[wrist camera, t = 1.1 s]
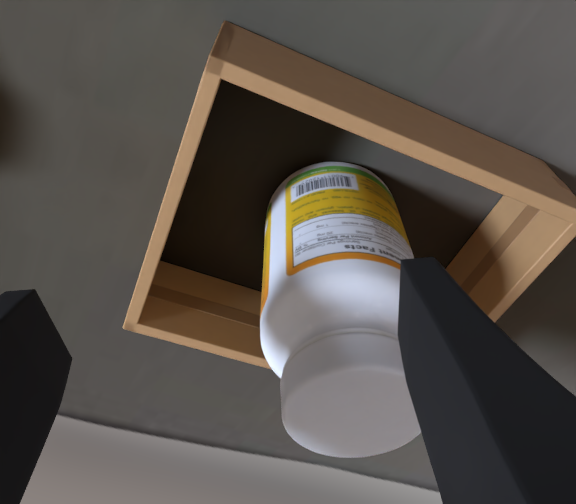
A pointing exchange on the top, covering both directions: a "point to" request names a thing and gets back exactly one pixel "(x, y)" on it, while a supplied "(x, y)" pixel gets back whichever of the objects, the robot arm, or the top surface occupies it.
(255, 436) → the top surface
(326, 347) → the supplement bottle
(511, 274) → the wooden box
